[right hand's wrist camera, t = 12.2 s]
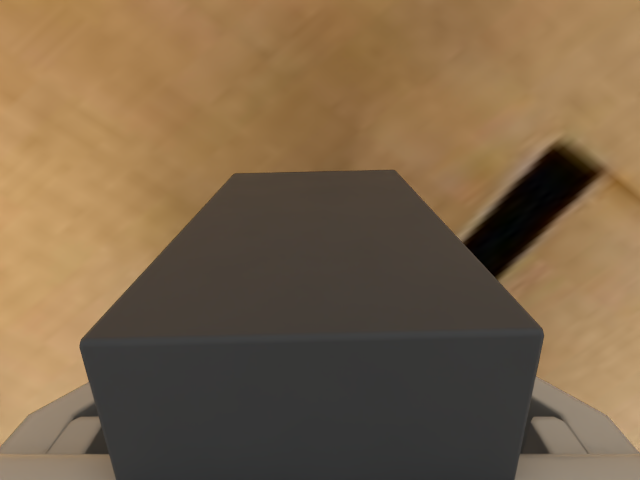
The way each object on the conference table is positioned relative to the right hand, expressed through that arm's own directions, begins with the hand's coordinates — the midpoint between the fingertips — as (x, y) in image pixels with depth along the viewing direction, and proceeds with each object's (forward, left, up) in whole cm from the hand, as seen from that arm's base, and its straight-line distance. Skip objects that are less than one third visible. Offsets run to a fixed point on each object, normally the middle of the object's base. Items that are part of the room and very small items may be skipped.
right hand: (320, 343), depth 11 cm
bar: (+1, -8, -3) cm, 8 cm away
